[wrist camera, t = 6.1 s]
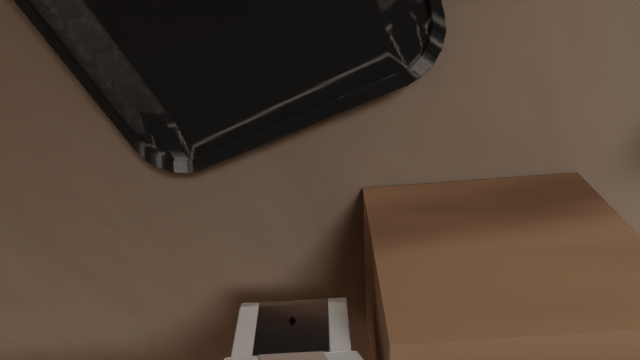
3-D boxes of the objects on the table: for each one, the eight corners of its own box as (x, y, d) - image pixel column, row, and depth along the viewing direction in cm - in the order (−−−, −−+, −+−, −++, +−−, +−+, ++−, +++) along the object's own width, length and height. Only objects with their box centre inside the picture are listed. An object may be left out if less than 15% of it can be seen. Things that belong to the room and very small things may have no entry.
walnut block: (362, 188, 12) (389, 344, 8) (577, 172, 11) (727, 325, 7) (366, 321, 15) (386, 481, 11) (532, 311, 15) (617, 469, 11)
